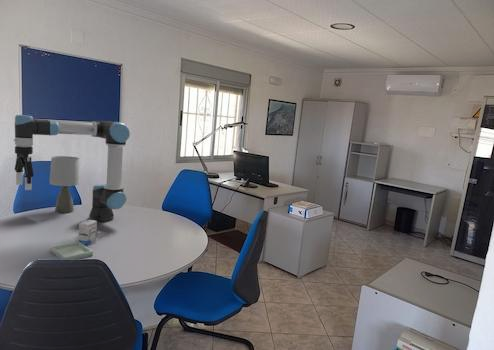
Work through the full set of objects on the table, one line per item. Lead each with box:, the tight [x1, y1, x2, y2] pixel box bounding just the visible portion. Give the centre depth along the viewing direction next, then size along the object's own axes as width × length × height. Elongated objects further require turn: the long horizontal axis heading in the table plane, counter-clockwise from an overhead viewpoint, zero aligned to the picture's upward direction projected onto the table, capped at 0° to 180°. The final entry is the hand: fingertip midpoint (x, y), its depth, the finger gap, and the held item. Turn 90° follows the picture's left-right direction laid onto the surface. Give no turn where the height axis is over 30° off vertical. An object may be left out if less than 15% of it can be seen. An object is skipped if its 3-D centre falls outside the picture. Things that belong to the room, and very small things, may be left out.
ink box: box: [78, 219, 98, 247], centre depth 180 cm, size 9×5×12 cm, turn 168°
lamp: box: [48, 155, 81, 214], centre depth 229 cm, size 19×19×37 cm
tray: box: [50, 241, 94, 260], centre depth 166 cm, size 13×16×2 cm
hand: (23, 187), depth 173 cm, fingers open, 13 cm apart
